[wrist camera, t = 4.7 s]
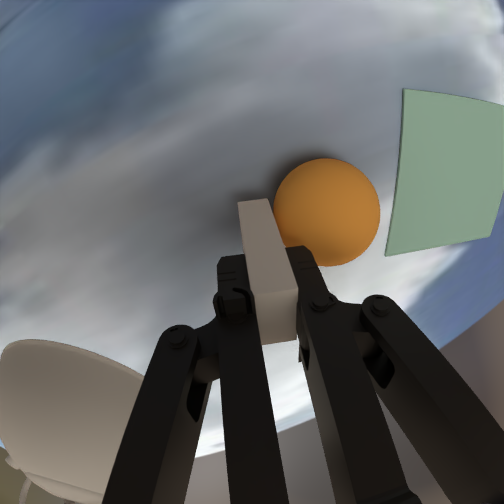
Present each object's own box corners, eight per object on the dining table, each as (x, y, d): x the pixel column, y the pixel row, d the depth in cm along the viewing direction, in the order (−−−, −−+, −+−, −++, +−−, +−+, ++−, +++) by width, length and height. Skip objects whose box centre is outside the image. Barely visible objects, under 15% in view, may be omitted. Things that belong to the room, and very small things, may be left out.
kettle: (70, 430, 37) (61, 547, 19) (-33, 350, 24) (-71, 498, 6) (202, 423, 36) (216, 578, 17) (96, 320, 22) (67, 600, 4)
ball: (295, 194, 11) (410, 179, 12) (257, 151, 15) (350, 141, 16) (294, 300, 14) (389, 274, 15) (263, 237, 19) (343, 222, 19)
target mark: (402, 88, 14) (404, 89, 14) (516, 108, 14) (517, 109, 14) (384, 255, 21) (385, 256, 21) (488, 235, 22) (489, 236, 21)
